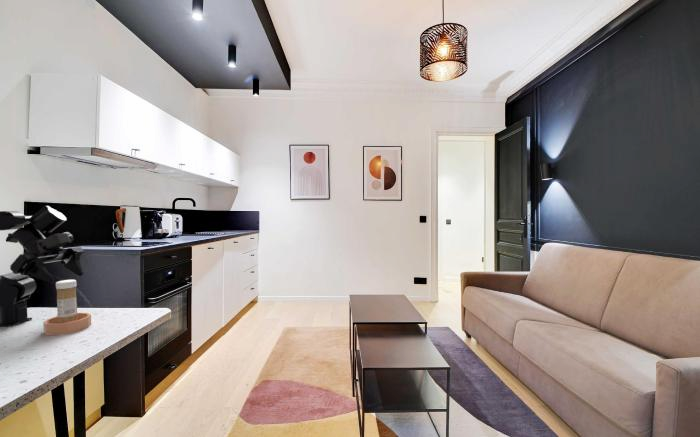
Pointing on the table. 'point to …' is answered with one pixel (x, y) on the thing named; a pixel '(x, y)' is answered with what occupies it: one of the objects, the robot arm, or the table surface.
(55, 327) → the terracotta bowl
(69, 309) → the sprinkles bottle
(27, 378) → the table surface
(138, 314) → the table surface
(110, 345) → the table surface
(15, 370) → the table surface
